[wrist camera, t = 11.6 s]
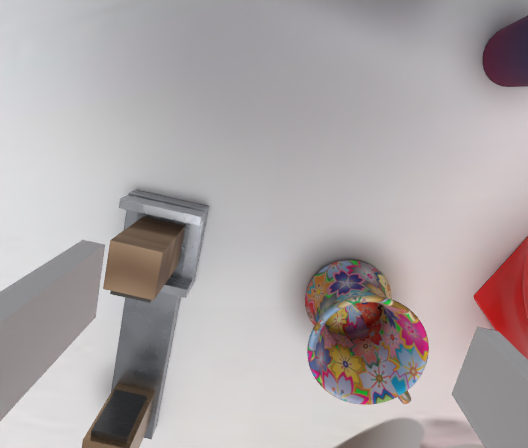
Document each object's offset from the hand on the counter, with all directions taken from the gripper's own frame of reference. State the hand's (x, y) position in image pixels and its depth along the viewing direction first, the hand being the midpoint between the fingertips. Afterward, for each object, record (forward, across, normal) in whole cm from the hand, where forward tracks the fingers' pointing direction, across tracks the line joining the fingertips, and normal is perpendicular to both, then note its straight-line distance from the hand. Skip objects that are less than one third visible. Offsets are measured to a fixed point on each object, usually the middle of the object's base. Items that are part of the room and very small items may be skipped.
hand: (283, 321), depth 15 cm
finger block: (+25, -10, -7) cm, 28 cm away
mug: (+27, +10, -10) cm, 30 cm away
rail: (+27, -10, -16) cm, 33 cm away
